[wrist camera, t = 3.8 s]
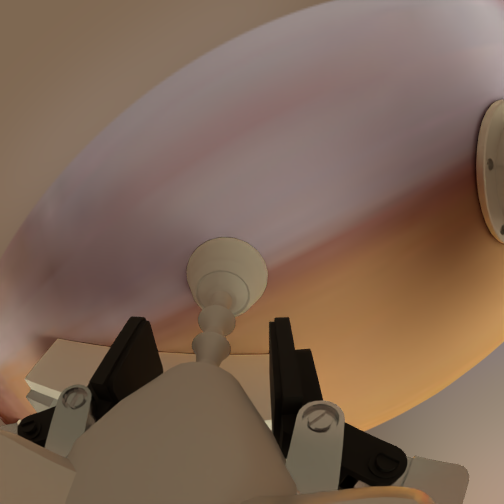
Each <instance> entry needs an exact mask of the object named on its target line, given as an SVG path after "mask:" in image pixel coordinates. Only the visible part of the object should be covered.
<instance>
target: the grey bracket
mask: <svg viewBox="0 0 504 504" xmlns="http://www.w3.org/2000/svg"><path fill="white" fill-rule="evenodd" d="M109 349H110V347H107V346H100V345H93V344H87V343H81V342H75V341H69V340H64V339H59V338H58V339H57V340H56V341H55V342H54V343H53V344H52V346H51V347H50V348H49V349H48V350H47V352H46V353H45V354H44V355H43V356H42V358H41V359H40V360H39V361H38V362H37V364H36V365H35V366H34V367H33V369H32V370H31V371H30V372H29V374H28V375H27V376H26V378H25V380H26V382H27V383H28V385H29V387H30V388H31V390H30V392H29V393H28V395H27V396H26V398H27V399H28V401H29V402H30V403H31V405H32V406H33V408H34V409H35V410H36V412H37V413H38V412H41V411H44V410H46V409H49V408H52V407H54V406H56V405H57V401H58V398H59V396H60V394H61V392H62V391H63V390H64V389H66V388H67V387H69V386H72V385H78V384H79V385H84V386H86V387H87V386H88V384H89V381H90V379H91V378H92V376H93V374H94V373H95V371H96V370H97V368H98V366H99V365H100V363H101V362H102V360H103V358H104V357H105V355H106V354H107V352H108V350H109ZM158 353H159V356H160V360H161V363H162V366H163V373H164V372H166V371H167V370H169V369H170V368H172V367H174V366H176V365H178V364H180V363H187V362H196V354H185V353H168V352H158ZM219 367H220V368H222V369H224V370H225V371H227V372H229V373H230V374H232V375H233V376H234V377H235V378H236V379H237V381H238V382H239V383H240V385H241V386H242V388H243V389H244V391H245V392H246V394H247V395H248V397H249V399H250V400H251V402H252V403H253V405H254V406H255V408H256V409H257V411H258V412H259V414H260V415H261V417H262V418H263V420H264V421H265V423H266V424H267V425H268V427H269V428H270V430H271V431H272V420H271V399H270V380H269V354H253V355H229V356H228V357H227V358H226V359H225V360H223V361H222V362H221V364H220V366H219ZM286 460H287V459H286Z"/></svg>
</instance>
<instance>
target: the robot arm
mask: <svg viewBox="0 0 504 504" xmlns="http://www.w3.org/2000/svg"><path fill="white" fill-rule="evenodd" d="M476 172H477V187H478V195H479V201H480V205H481V210H482V214H483V216H484V219H485V222H486V225H487V227H488V228H489V230H490V232H491V234H492V235H493V236H494V237H495V238H496V240H498V241H500V242H501V243H503V244H504V99H503V100H498V101H496V102H495V103H493V104H492V105H491V106H490V107H489V109H488V110H487V111H486V114H485V116H484V118H483V121H482V124H481V128H480V132H479V137H478V145H477V158H476ZM161 374H163V366H162V363H161V360H160V356H159V353H158V350H157V346H156V343H155V339H154V336H153V332H152V329H151V325H150V322H149V321H146V319H145V318H144V317H130V319H129V320H128V322H127V323H126V325H125V326H124V328H123V329H122V331H121V332H120V334H119V335H118V337H117V338H116V340H115V341H114V343H113V344H112V346H111V347H110V349H109V350H108V352H107V354H106V355H105V357H104V358H103V360H102V362H101V363H100V365H99V366H98V368H97V370H96V371H95V373H94V374H93V376H92V378H91V379H90V381H89V384H88V386H87V387H86V386H84V385H79V384H78V385H72V386H69V387H67V388H66V389H64V390H63V391H62V392H61V394H60V396H59V398H58V401H57V405H56V406H54V407H52V408H49V409H46V410H44V411H41V412H38V413H35V414H33V415H30V416H27V417H25V418H24V419H23V420H22V421H21V422H20V423H19V425H18V423H14V424H9V425H3V426H0V504H65V502H66V499H67V496H68V494H69V491H70V488H71V486H72V483H73V480H74V478H75V475H76V473H77V472H76V470H75V469H74V467H73V465H72V464H71V462H70V460H69V459H67V457H68V455H69V453H70V451H71V448H72V446H73V444H74V442H75V440H76V439H78V438H79V437H80V436H81V435H82V434H83V433H85V432H86V431H87V430H88V429H89V428H90V427H91V426H93V425H94V424H95V423H96V422H97V421H98V420H99V419H101V418H102V417H103V416H104V415H105V414H106V413H107V412H109V411H110V410H111V409H112V408H113V407H114V406H115V405H116V404H118V403H119V402H120V401H121V400H122V399H124V398H126V397H127V396H129V395H130V394H132V393H133V392H135V391H137V390H138V389H140V388H141V387H143V386H144V385H146V384H147V383H149V382H151V381H152V380H154V379H155V378H157V377H158V376H160V375H161ZM269 380H270V399H271V420H272V433H273V435H274V437H275V439H276V441H277V443H278V445H279V447H280V449H281V451H282V453H283V455H284V457H285V459H287V460H286V463H285V466H286V468H287V470H288V472H289V473H290V475H291V477H292V479H293V480H294V482H295V484H296V486H297V492H296V494H297V495H286V496H257V497H254V498H251V499H248V500H245V501H243V502H240V503H234V504H462V503H463V500H464V497H465V493H466V489H467V486H468V482H469V474H468V471H467V469H466V468H465V467H464V466H461V465H458V464H452V463H447V462H442V461H436V460H432V459H427V458H423V457H419V456H414V457H413V458H411V457H407V456H406V454H405V453H404V452H403V451H402V450H401V449H400V448H398V447H397V446H394V445H392V444H390V443H387V442H385V441H383V440H380V439H378V438H376V437H374V436H372V435H370V434H367V433H365V432H363V431H361V430H359V429H357V428H355V427H353V426H351V425H349V424H347V423H345V418H344V413H343V411H342V410H341V408H339V407H338V406H337V405H336V404H334V403H332V402H328V401H323V398H322V394H321V389H320V385H319V381H318V377H317V373H316V369H315V365H314V361H313V357H312V353H311V350H310V349H301V350H295V347H294V342H293V336H292V331H291V325H290V320H289V317H284V318H275V322H269Z"/></svg>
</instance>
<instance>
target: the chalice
mask: <svg viewBox="0 0 504 504" xmlns="http://www.w3.org/2000/svg"><path fill="white" fill-rule="evenodd" d="M267 278H268V272H267V268H266V264H265V261H264V260H263V258H262V257H261V255H260V254H259V252H258V251H257V250H256V249H255V248H253V247H252V246H251V245H249V244H248V243H247V242H244V241H241V240H239V239H236V238H225V237H220V238H216V239H212V240H209V241H207V242H205V243H204V244H202V245H201V246H199V247H198V248H197V249H196V250H195V251H194V253H193V254H192V255H191V257H190V259H189V262H188V266H187V281H188V284H189V287H190V289H191V292H192V295H193V298H194V300H195V302H196V303H197V305H198V306H199V307H200V308H201V309H202V311H201V312H200V314H199V317H198V323H199V326H200V328H201V329H202V331H203V333H200V334H198V335H197V336H196V337H195V338H194V339H193V342H192V349H193V351H194V353H195V354H196V362H187V363H180V364H178V365H176V366H174V367H172V368H170V369H169V370H167V371H166V372H164V373H163V374H161V375H160V376H158V377H157V378H155V379H154V380H152V381H151V382H149V383H147V384H146V385H144V386H143V387H141V388H140V389H138V390H137V391H135V392H133V393H132V394H130V395H129V396H127V397H126V398H124V399H122V400H121V401H120V402H119V403H118V404H116V405H115V406H114V407H113V408H112V409H111V410H110V411H109V412H107V413H106V414H105V415H104V416H103V417H102V418H101V419H99V420H98V421H97V422H96V423H95V424H94V425H93V426H91V427H90V428H89V429H88V430H87V431H86V432H85V433H83V434H82V435H81V436H80V437H79V438H78V439H76V440H75V442H74V444H73V446H72V448H71V451H70V453H69V455H68V457H67V459H69V460H70V462H71V464H72V465H73V467H74V469H75V470H76V472H77V473H76V475H75V478H74V480H73V483H72V486H71V488H70V491H69V494H68V496H67V499H66V502H65V504H234V503H240V502H243V501H245V500H248V499H251V498H254V497H257V496H286V495H297V494H296V492H297V486H296V484H295V482H294V480H293V479H292V477H291V475H290V473H289V472H288V470H287V468H286V466H285V463H286V459H285V457H284V455H283V453H282V451H281V449H280V447H279V445H278V443H277V441H276V439H275V437H274V435H273V433H272V431H271V430H270V428H269V427H268V425H267V424H266V423H265V421H264V420H263V418H262V417H261V415H260V414H259V412H258V411H257V409H256V408H255V406H254V405H253V403H252V402H251V400H250V399H249V397H248V395H247V394H246V392H245V391H244V389H243V388H242V386H241V385H240V383H239V382H238V381H237V379H236V378H235V377H234V376H233V375H232V374H230V373H229V372H227V371H225V370H224V369H222V368H220V367H219V366H220V364H221V362H222V361H223V360H225V359H226V358H227V357H228V356H229V354H230V349H231V347H230V344H229V342H228V341H227V339H226V338H225V337H224V336H227V335H229V334H230V333H231V332H232V331H233V330H234V328H235V317H237V316H239V315H241V314H243V313H245V312H246V311H247V310H248V309H249V308H250V307H251V306H252V305H253V304H254V303H255V302H256V301H257V300H258V299H259V298H260V297H261V296H262V295H263V292H264V290H265V288H266V286H267Z"/></svg>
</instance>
